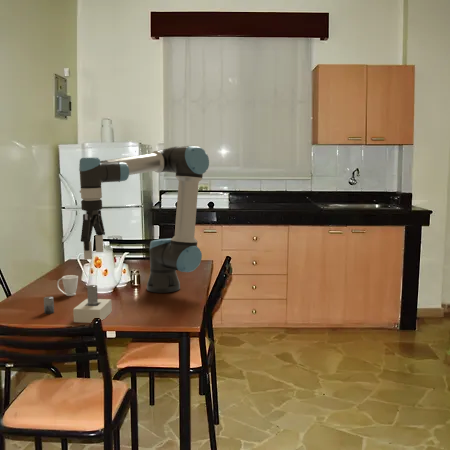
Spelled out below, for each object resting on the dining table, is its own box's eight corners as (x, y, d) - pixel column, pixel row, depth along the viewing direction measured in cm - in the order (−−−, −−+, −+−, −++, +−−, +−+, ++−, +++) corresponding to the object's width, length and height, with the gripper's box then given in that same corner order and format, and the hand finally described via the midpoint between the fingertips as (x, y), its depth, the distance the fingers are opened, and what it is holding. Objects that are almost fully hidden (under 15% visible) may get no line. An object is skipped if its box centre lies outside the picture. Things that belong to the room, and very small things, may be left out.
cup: (73, 297, 233) (72, 279, 232) (53, 295, 235) (52, 277, 234) (82, 293, 239) (81, 275, 238) (62, 291, 242) (61, 274, 241)
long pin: (99, 315, 206) (98, 284, 205) (96, 318, 203) (95, 287, 201) (90, 315, 207) (89, 284, 205) (87, 318, 203) (85, 287, 202)
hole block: (111, 311, 211) (111, 299, 211) (100, 322, 197) (99, 309, 197) (86, 311, 212) (86, 298, 211) (73, 322, 198) (73, 309, 198)
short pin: (55, 311, 212) (54, 296, 211) (51, 314, 208) (51, 298, 208) (46, 311, 212) (46, 296, 212) (42, 313, 209) (42, 298, 208)
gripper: (92, 196, 213) (95, 249, 216) (69, 202, 188) (72, 262, 192) (111, 196, 212) (113, 249, 216) (90, 202, 188) (93, 262, 191)
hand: (94, 255), depth 204 cm, fingers open, 13 cm apart
